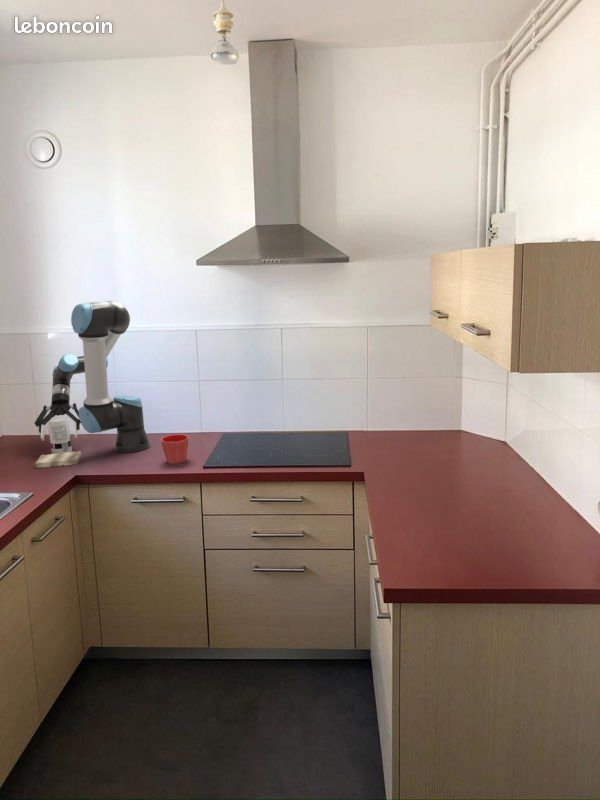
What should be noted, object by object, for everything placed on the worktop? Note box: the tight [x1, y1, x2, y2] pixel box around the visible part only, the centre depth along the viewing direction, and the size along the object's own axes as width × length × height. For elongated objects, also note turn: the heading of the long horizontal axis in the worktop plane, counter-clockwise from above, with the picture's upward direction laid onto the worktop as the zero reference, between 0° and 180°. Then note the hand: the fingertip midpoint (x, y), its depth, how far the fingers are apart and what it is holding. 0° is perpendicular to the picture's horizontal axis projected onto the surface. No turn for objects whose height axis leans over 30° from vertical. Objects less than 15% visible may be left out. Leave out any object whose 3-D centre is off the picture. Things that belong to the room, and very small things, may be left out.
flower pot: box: [160, 434, 189, 465], centre depth 251 cm, size 11×11×10 cm
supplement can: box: [47, 417, 73, 454], centre depth 268 cm, size 8×8×15 cm
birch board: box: [34, 451, 82, 469], centre depth 257 cm, size 16×12×2 cm
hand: (58, 437), depth 267 cm, fingers open, 13 cm apart
